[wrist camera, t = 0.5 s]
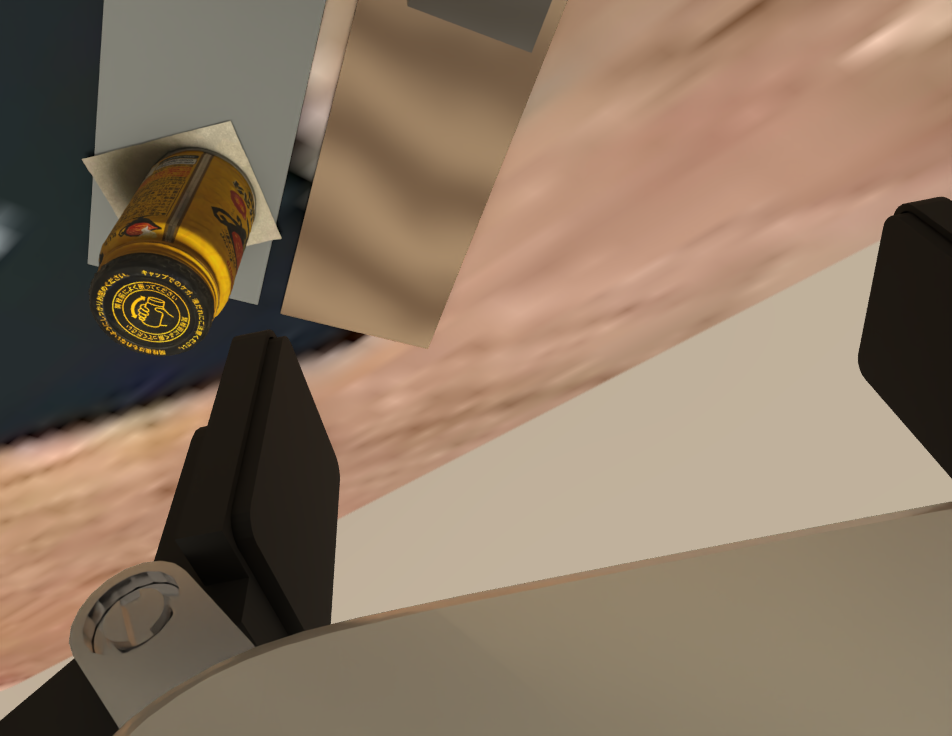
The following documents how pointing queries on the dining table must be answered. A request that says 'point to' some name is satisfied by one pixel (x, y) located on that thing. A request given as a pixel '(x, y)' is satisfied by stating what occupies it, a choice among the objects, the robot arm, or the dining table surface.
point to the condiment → (174, 236)
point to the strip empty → (412, 158)
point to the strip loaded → (206, 90)
